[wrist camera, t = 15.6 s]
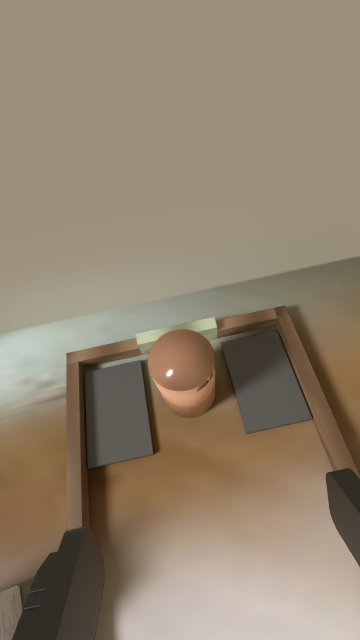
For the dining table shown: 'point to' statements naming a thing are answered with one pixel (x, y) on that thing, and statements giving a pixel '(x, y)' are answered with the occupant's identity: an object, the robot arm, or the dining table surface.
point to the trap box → (209, 330)
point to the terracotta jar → (184, 371)
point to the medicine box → (9, 612)
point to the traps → (132, 411)
